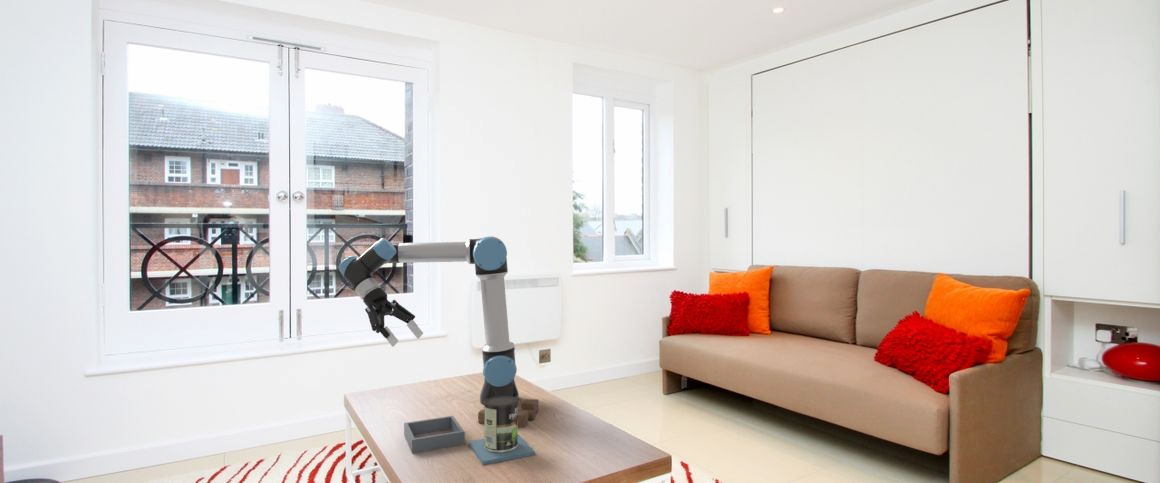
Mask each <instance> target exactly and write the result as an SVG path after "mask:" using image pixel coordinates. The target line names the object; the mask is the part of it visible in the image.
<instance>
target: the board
mask: <svg viewBox="0 0 1160 483" xmlns="http://www.w3.org/2000/svg"><path fill="white" fill-rule="evenodd" d="M468 446H469V447H470V449H471V451H473V453H474V454H475V456H476V458H477V459H478V460H479V462H480V463H481V465H482V466H484V465H488V464H493V463H498V462H505V461H509V460H510V461H511V460H514V459H515V460H516V459H520V458H525V457H530V456H536V451H535V450H534V449H533V448H532V447H531V446H530V444H528V442H526V441H525V439H524V438H522V437H521V435H520V434H518V446H517V448H516V449H514V450H512V451H509V452H503V453H495V452H490V451H487V450H486V449H485V448H484V446H485V438H482V439H476V440H469V441H468Z"/></svg>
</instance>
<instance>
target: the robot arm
mask: <svg viewBox="0 0 1160 483" xmlns="http://www.w3.org/2000/svg"><path fill="white" fill-rule="evenodd" d="M507 256H508V251H507V247H506V245H505V243H504V242H503V241H502V240H501V239H500V238H498V237H495V236H485V237H481V238H480V237H479V238H473V239H472V238H470V239H468V240H466V241H450V242H449V241H447V242H446V241H444V242H443V241H442V242H435V241H434V242H399V243H398V242H397V243H396V242H395V243H394V242H392V243H391V242H390V241H389V240H388V239H386V238H385V237H382V238H380V239H379V240H377V241H375V242H374V244H371V246H370V247H369V248H368V249H367V250H366V251H364V252H363V253H362V254H361V255H360V256H358V257H357V256H356V255H350V256H348V257H347V258H344V259H343V260H342V261H341V262H340V264H339V265H338V270H339V272H340V273H341V275H342V277H343V278H344V280H345V281H346V282H347V283H348V284H349V285H350V286H351V288H352V289H353V290H354V291H355V293H356V294H357V296H358V297H359V298H360V299H361V301H363V304H365V305H366V308H365V309H364V310H365V312H366V313H367V316H368V319H369V323H370V327H371V330H372V332H375V333H377V334H379V333H380V334H381V335H382V336H383V338H384V339H386V340H387V342H388V343H389V344H390V346H391V347H395V346H396V344H397V343H398V342H399V339H398V338H397V337H396V336H395V334H394V333H393V332H392V331H391V329H390V328H389V327H388V325H386V326H385V316H390V317H395V318H396V319H398V320H400V321H402V322H404V323H406V326H407V327H408V329H409V330H410V331H411V333H412V334H413V335H414V336H415V337H416V339H420V338H421V337H422V336H423V335H424V332H423V331H422V329H421V328H420V327H419V326H418V325H417V324H416V322H415V321H414V320H415V318H416V315H415V314H413V312H411V311H409V310H408V309H406V308H405V307H403V305H401V304H400V303H399V302H397V300H396V299H393V300H391V302H390V301H389V299H388V294H387V293H386V292H385V290H384V288H382V287H381V285H380V284H379V283H378V282H377V280H376V279H375V278H374V276H373V274H374V273H375V272H376V271H378V270H379V269H380V268H381V267H382V266H384V265H386V264H408V263H409V264H410V263H415V264H416V263H452V262H456V263H457V262H459V263H460V262H461V263H462V262H463V263H464V262H467V263H468V264H470V265H474V268H475V269H474V270H475V276H476V277H477V278H478V279H479V280H480V289H481V300H482V301H481V302H482V313H483V325H484V337H485V344H484V346H483V347H482V350H481V351H482V352H481V353H482V361H483V362H482V363H483V369H482V373H483V377H484V382H483V386H482V387H481V388H482V389H481V392H480V393H479V403H480V404H482V405H484V400H486V399H487V398H490V397H494V396H512V397H515V398H517V399H518V401H519V400H520V393H519V391H518V387H517V384H516V381H515V377H516V375H517V365H516V357H515V356H516V354H515V353H516V352H515V350H516V347H515V344H514V342H512V341H510V333H509V321H508V318H509V317H508V309H507V306H508V305H507V297H506V286H505V285H506V284H505V277H506V275H507V274H508V273H509V271H508V270H509V269H508V258H507Z"/></svg>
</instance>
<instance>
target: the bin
mask: <svg viewBox="0 0 1160 483" xmlns="http://www.w3.org/2000/svg"><path fill="white" fill-rule="evenodd" d="M444 430H451V431H452V432H451V431H450V432H446V433H440V434H439V433H438V434H435V435H427V436H421V437H415V436H414V435H420V434H427V433H432V432H441V431H444ZM465 432H466V431H465V429H463V427H462V426H461V424H460V423H459V422H458V421H457V419H456V418H455V416H454V415H450V416H449V415H448V416H442V417H441V416H440V417H435V418H434V417H433V418H428V419H422V420H416V421H414V420H413V421H408V422H404V423H403V435H404V438H405V440H406V442H407V444H408V448H409V450H410V452H411V454H415V453H421V452H427V451H433V450H438V449H439V450H440V449H444V448H449V447H451V448H452V447H455V446H462V445H466V441H465V438H466V437H465V436H466V434H465Z"/></svg>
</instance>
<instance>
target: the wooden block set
mask: <svg viewBox="0 0 1160 483" xmlns="http://www.w3.org/2000/svg"><path fill="white" fill-rule="evenodd" d="M520 406H521V407H520V409H518V428H526V426H528V424H529V420H530V421H533V420H535V418H536V414H538V412H539V399H531V398H530V399H525V400H523V401H522V402H521V403H520ZM477 423H478V424H484V409H480V410H479V411H478V413H477Z"/></svg>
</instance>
